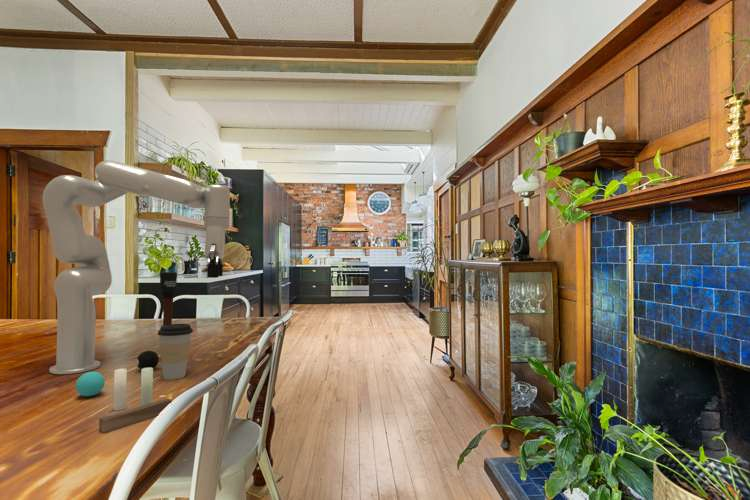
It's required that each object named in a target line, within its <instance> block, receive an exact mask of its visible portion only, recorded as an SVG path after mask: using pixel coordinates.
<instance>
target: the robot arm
mask: <svg viewBox="0 0 750 500" xmlns="http://www.w3.org/2000/svg"><path fill="white" fill-rule="evenodd" d="M94 176H95V178H96V180H90V179H87V178H85V177H81V176H77V175H73V174H64V175H63V174H62V175H58V176H56V177H54V178H52V180H50V181H49V182H48V183H47V185H46V186H45V188H44V189H43V193H42V205H43V209H44V212H45V215H46V220H47V223H48V229H49V234H50V235H49V236H50V240H51V245H52V249H53V254H54V256H55V258H56V260H58V261H59V262H61V263H63V264H69V265H70V264H71V265H73V264H77V267H70V268H66V269H65V270H64V269H63V271H61V272H60V273H58V275H57V276H56V278H55V281H54V292H55V296H56V297H55V298H56V303H57V318H56V319H57V328H56V329H57V330H56V331H57V332H56V357H55V358H56V359H55V360H56V363H55V365H52V366H50V367H49V370H48V371H49V373H50V374H53V375H72V374H79V373H80V374H81V373H83V372H86V373H87V372H91V371H93V370H95V369H97V368H99V367H101V361H100V360H96V359H95V357H96V356H95V355H96V354H95V351H96V350H95V349H96V346H95V345H96V344H95V343H96V321H97V320H96V317H97V315H96V313H97V311H96V305H95V300H94V298H93V296H97V295H98V296H99V295H102V294H104V293H106V292H107V291H108V290H109V289H110V288H111V285H112V281H113V280H112V279H113V277H112V273H111V272H112V271H111V267H110V261H109V256H108V251H107V249H106V245H105V244H104V242H103V241H102V240H101V239H100V238H99V237H97V236H94V235H92V234H91V235H90V234H86V231H85V227H84V223H83V219H82V216H81V214H80V211H78V209H77V205H80V206H84V207H90V208H94V207H95V208H97V207H101V206H104V205H106V204H108V203H110V202H112V201H115V200H116V199H119V198H120V197H123V196H125V195H127V194H128V193H131V194H133V195H137V196H141V197H145V198H151V197H152V198H157V199H161V200H165V201H169V202H172V203H176V204H180V205H183V206H186V207H189V208H191V209H204V210H203V211H204V213H203V215H204V216H203V228H204V229H206V231H205V240H204V242H205V243H204V244H205V245H204V253H203V254H204V258H205V259H208V260H207V261H208V262H207V273H206V275H207V278H209V279H210V278H213V279H214V278H215V279H217V278H219V277H222V276H223V274H224V273H223V272H224V271H223V269H224V264H223V258H225V247H226V230H228V229H230V209H231V208H230V206H231V205H230V204H231V203H230V199H231V198H230V197H231V191H230V188H229V187H228V186H227V185H222V184H221V185H220V184H209V185H208V184H207V185H206V186H201V185H199V184H196V183H194V182H192V181H190V180H187V179H183V178H179V177H177V176H173V175H168V174H164V173H160V172H156V171H154V170H150V169H146V168H143V167H139V166H135V165H131V164H128V163H125V162H124V163H123V162H119V161H115V160H108V159H107V160H103V161H101V162H98V164H96V166H95V167H94Z"/></svg>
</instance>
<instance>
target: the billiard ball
mask: <svg viewBox="0 0 750 500" xmlns="http://www.w3.org/2000/svg"><path fill="white" fill-rule="evenodd" d="M159 357H160V356H159V355H158V354H157V352H155V351H152V350H144V351H143V352H141V353H140V354H139V355H138V356H137V358H136V366H137V368H138V369H139V370H140V371H141V369H143V368H149V367H151V368H153V370H154V369H155V368H156V367H157V366H158V365H159V361H160V359H159Z"/></svg>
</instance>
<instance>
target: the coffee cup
mask: <svg viewBox="0 0 750 500" xmlns="http://www.w3.org/2000/svg"><path fill="white" fill-rule="evenodd" d="M157 332H158V333H157V335H159V353H160V356H159V357H160V362H161V370H162V379H163V380H169V381H171V380H172V381H173V380H179V379H182V378H184V377H185V376H186V372H187V363H188V361H189V355H190V347H191V335H192V333H194V330H193V328H192V327H191V325H190V324H189V323H172V324H169V325H164V326H163V325H162V326H160V329H159V330H158V331H157Z"/></svg>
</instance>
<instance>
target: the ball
mask: <svg viewBox="0 0 750 500" xmlns="http://www.w3.org/2000/svg"><path fill="white" fill-rule="evenodd" d="M105 382H106V379H105V377H104V375H103V374H102V373H100V372H98V371H86V373H83V374H82V375H80V376H79V377H78V378H77V380H76V383H75V390H76V393H78V394H79V395H81V396H82V397H93V396H95V395H98V394H99V393H101V391H102V390H103V389H104V387H105Z"/></svg>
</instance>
